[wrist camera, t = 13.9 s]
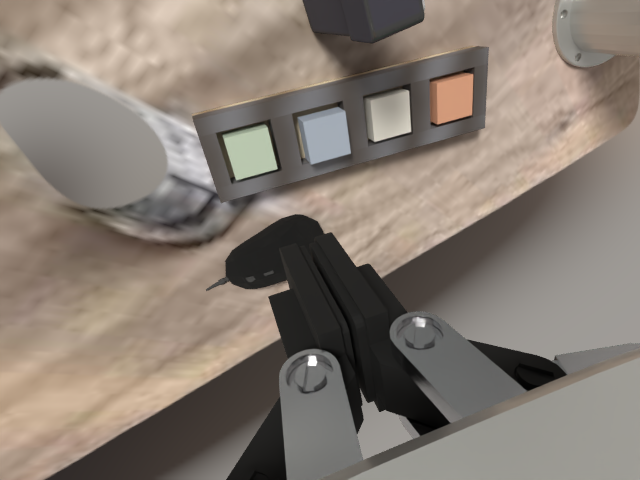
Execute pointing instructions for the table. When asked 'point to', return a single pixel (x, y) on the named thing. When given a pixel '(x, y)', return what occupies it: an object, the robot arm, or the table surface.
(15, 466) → the table surface
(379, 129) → the key ivory
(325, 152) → the key slate
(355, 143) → the keypad
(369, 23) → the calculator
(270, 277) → the gaming mouse
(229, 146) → the key sage
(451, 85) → the key terracotta
